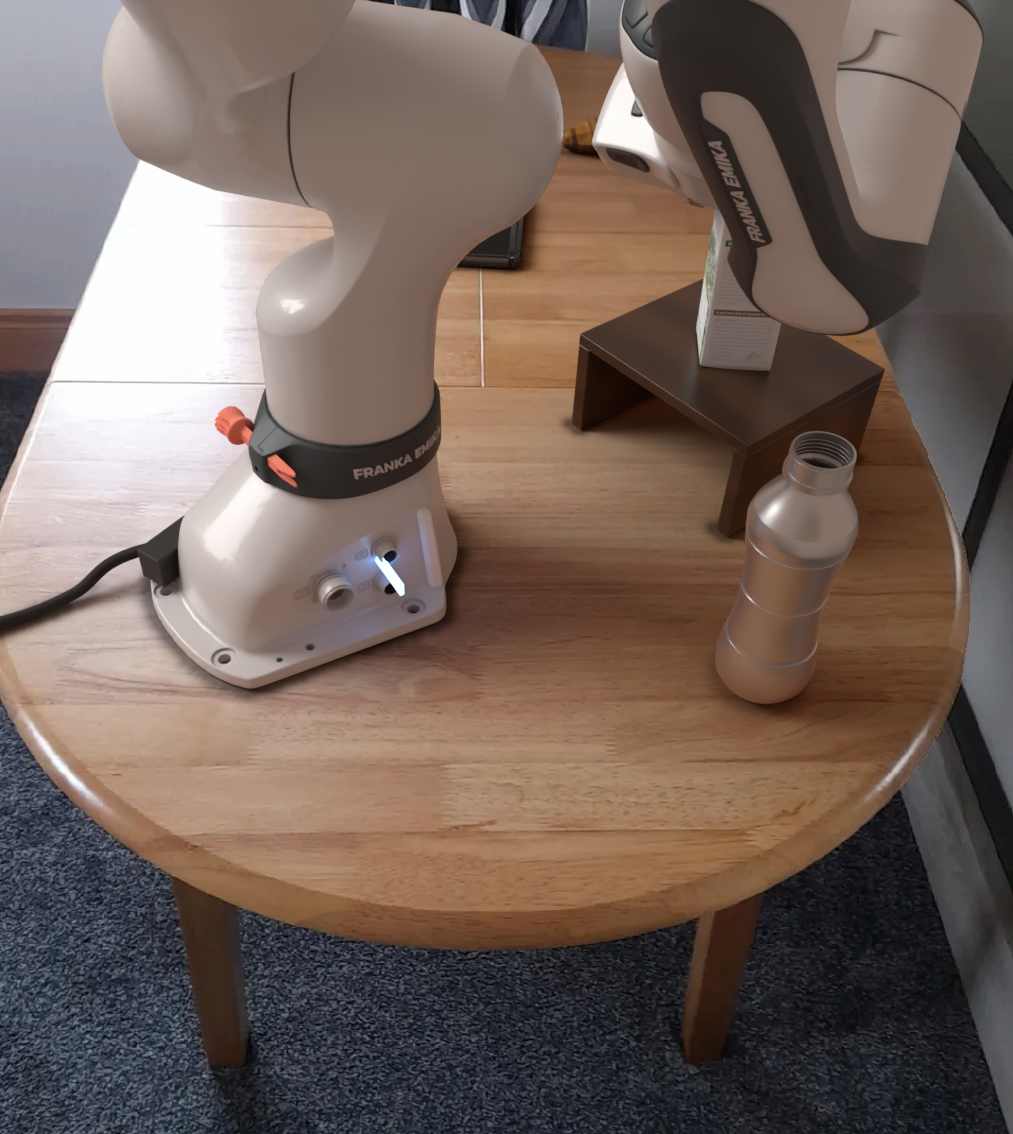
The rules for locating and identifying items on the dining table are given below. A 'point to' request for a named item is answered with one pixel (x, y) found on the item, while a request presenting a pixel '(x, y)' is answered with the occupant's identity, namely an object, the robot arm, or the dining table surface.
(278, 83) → the robot arm
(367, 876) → the dining table surface
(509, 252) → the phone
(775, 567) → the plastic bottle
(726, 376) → the shelf
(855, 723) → the dining table surface
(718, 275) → the syrup box
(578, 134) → the croissant
